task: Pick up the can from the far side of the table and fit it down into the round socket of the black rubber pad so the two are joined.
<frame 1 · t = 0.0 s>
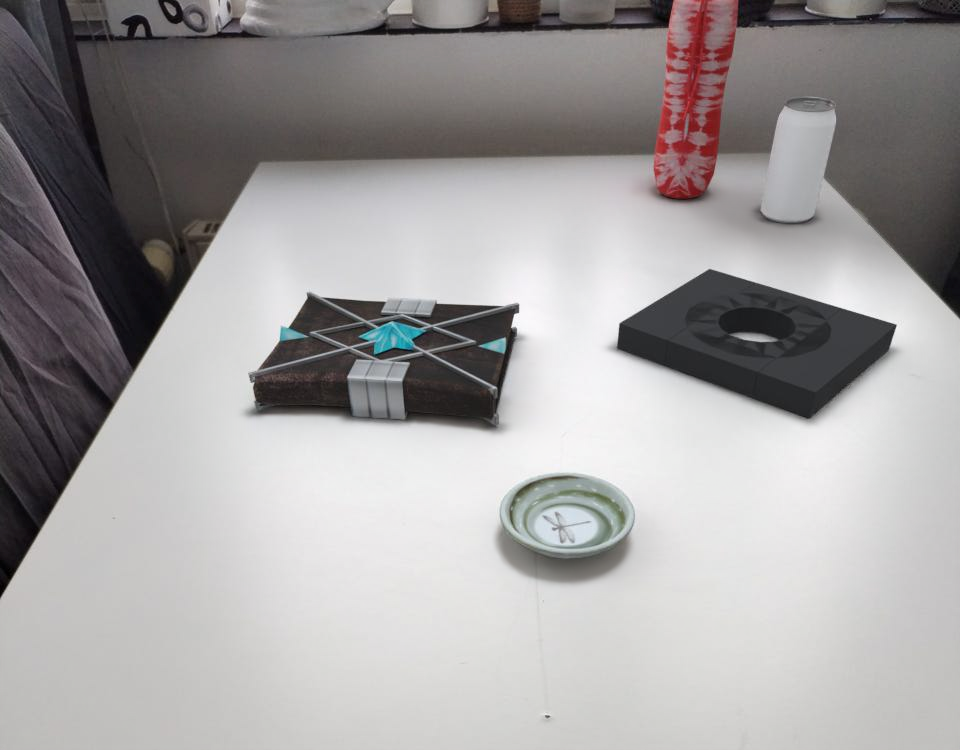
can: (786, 216, 109), on the table
book: (396, 374, 83), on the table
pad: (751, 348, 85), on the table
red tall rounded piece: (681, 189, 116), on the table
saucer: (565, 537, 65), on the table
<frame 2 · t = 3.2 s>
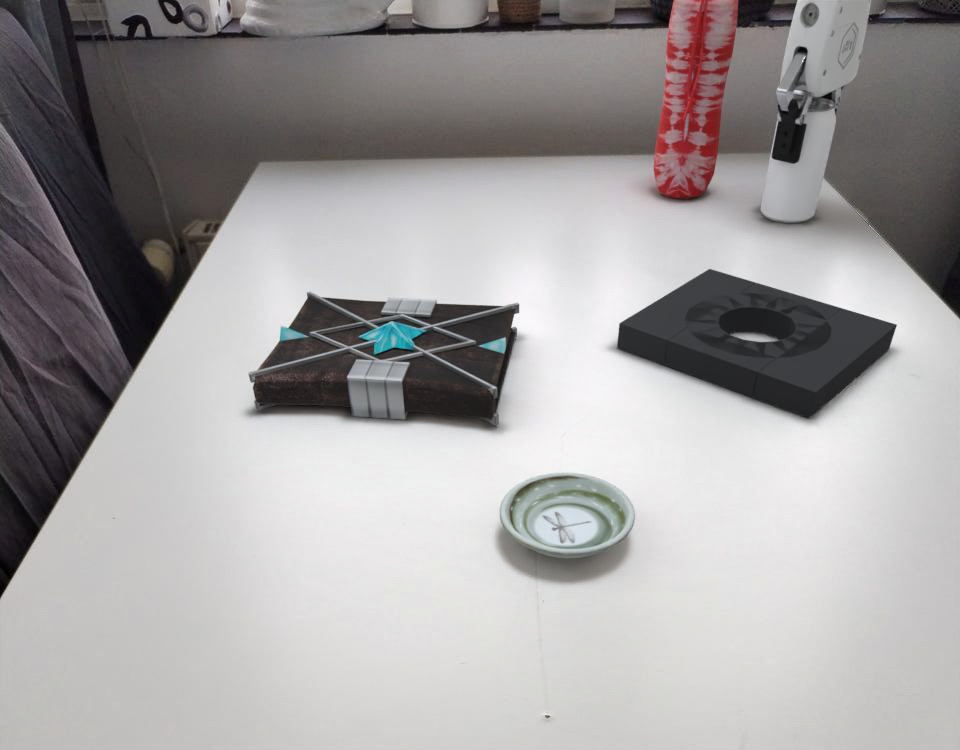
hand: (800, 151, 104), 7 cm above the table, tool pointing down, fingers closed on can, 6 cm apart
can: (786, 216, 109), on the table, touching gripper
everything else where it was.
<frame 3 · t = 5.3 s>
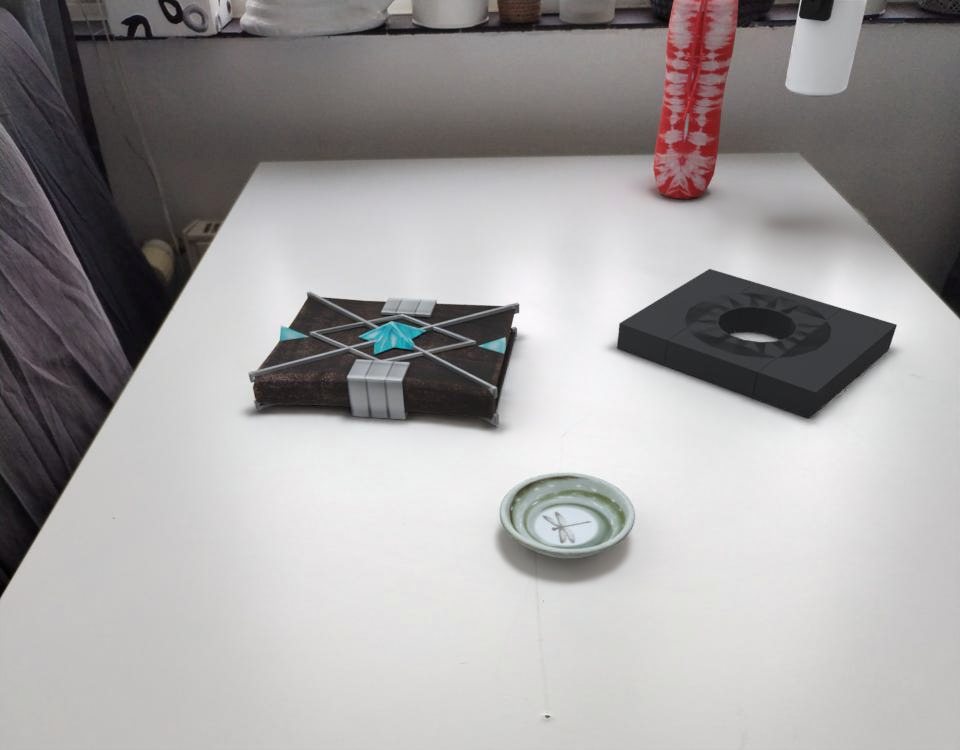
hand: (831, 11, 91), 21 cm above the table, tool pointing down, fingers closed on can, 6 cm apart
can: (814, 92, 96), point 14 cm above the table, touching gripper
everything else where it was.
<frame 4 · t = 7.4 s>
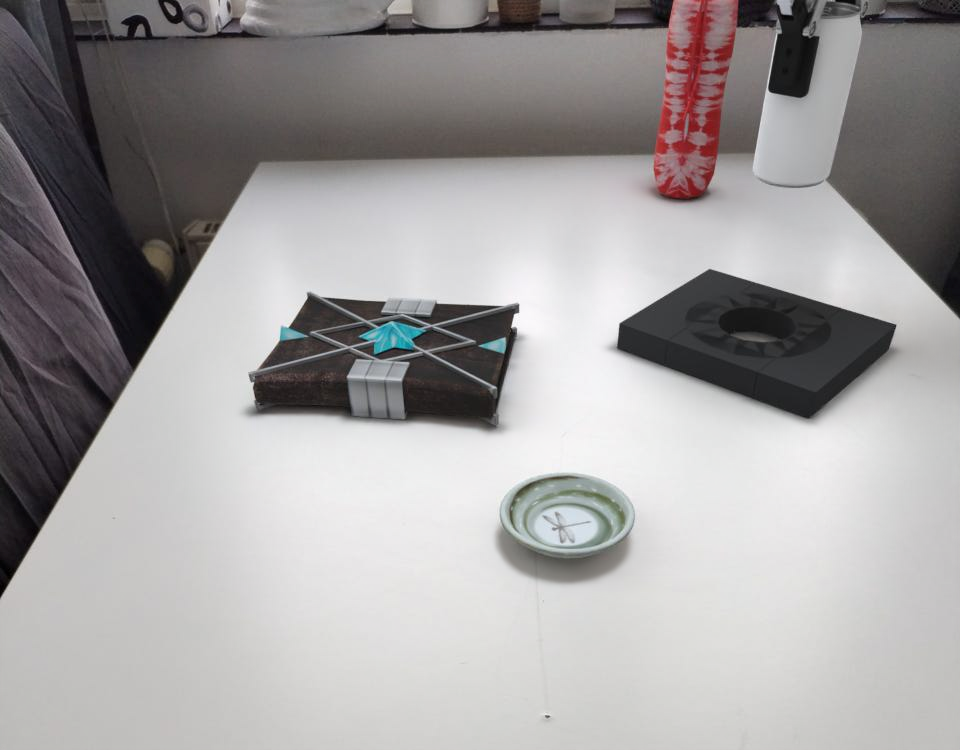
hand: (809, 82, 72), 21 cm above the table, tool pointing down, fingers closed on can, 6 cm apart
can: (789, 178, 77), point 14 cm above the table, touching gripper
everything else where it was.
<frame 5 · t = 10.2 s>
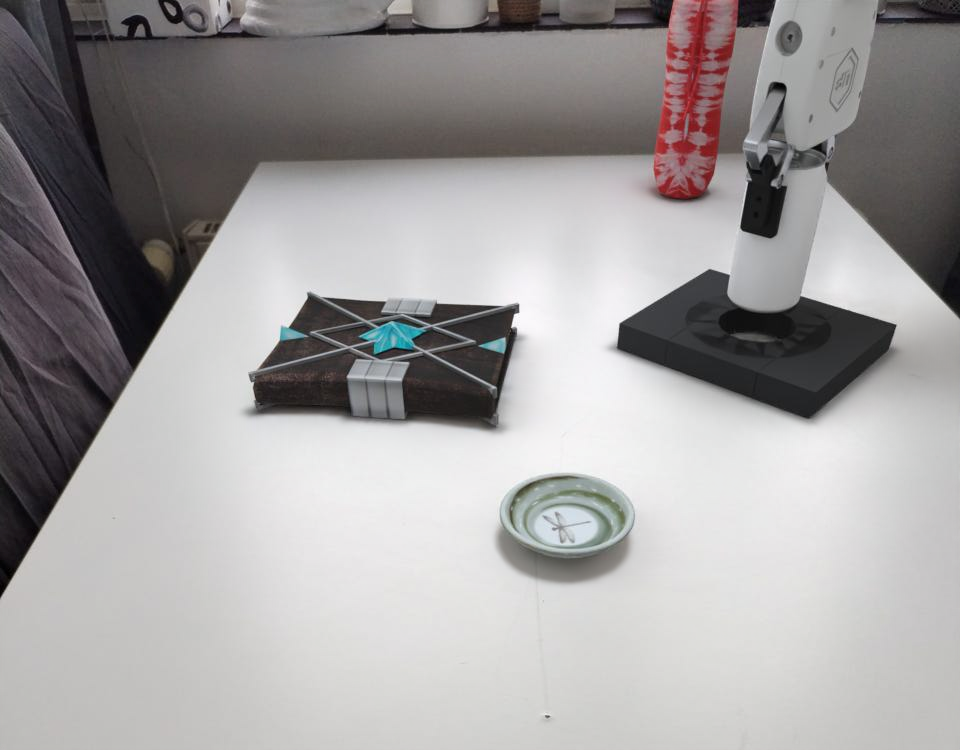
hand: (779, 219, 76), 12 cm above the table, tool pointing down, fingers closed on can, 6 cm apart
can: (761, 301, 82), point 5 cm above the table, touching gripper
everything else where it was.
when the fingers open (7 cm above the table, at t = 12.0 s): can stays where it is, resting in pad.
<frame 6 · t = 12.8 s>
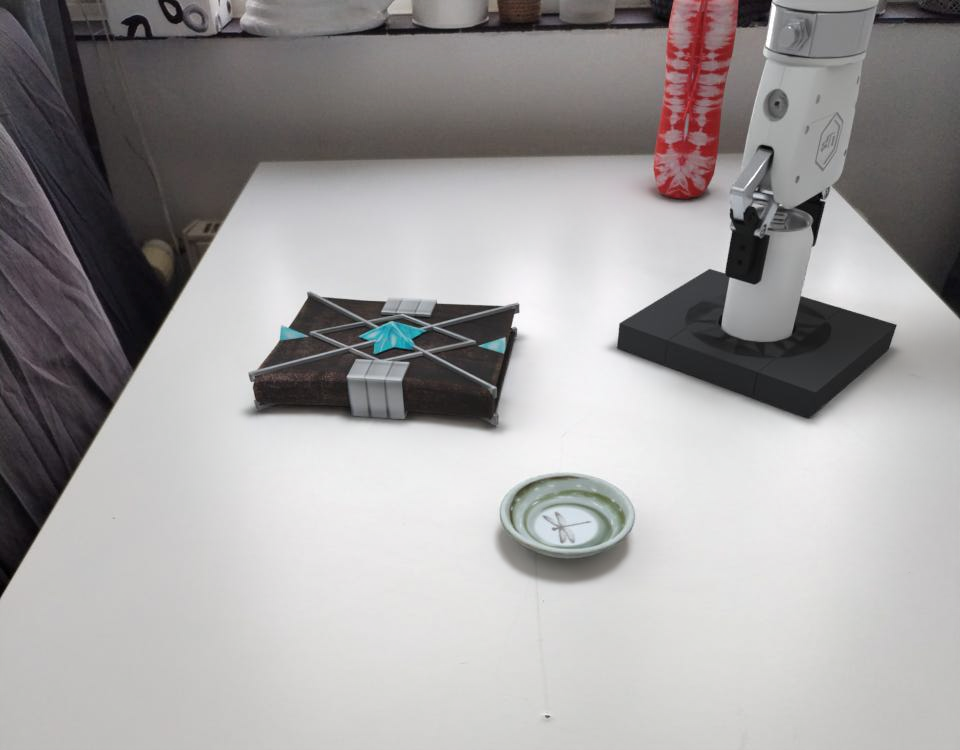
hand: (770, 261, 79), 8 cm above the table, tool pointing down, fingers open, 9 cm apart
can: (751, 350, 85), resting in pad
everything else where it was.
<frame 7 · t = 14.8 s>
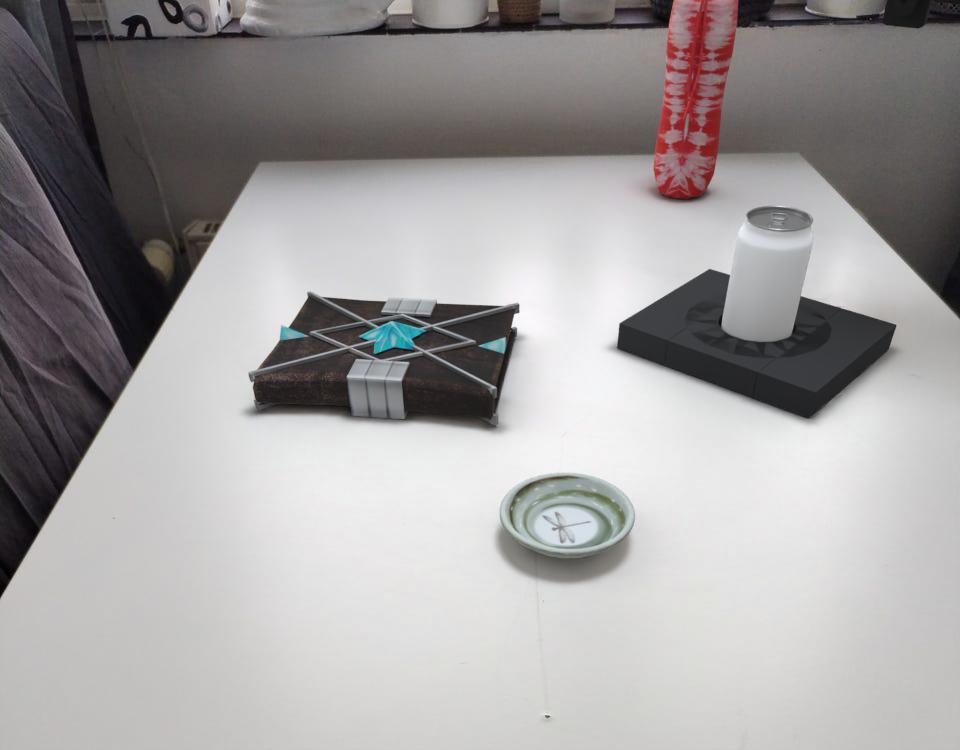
hand: (928, 13, 71), 25 cm above the table, tool pointing down, fingers open, 9 cm apart
nothing on the table moved.
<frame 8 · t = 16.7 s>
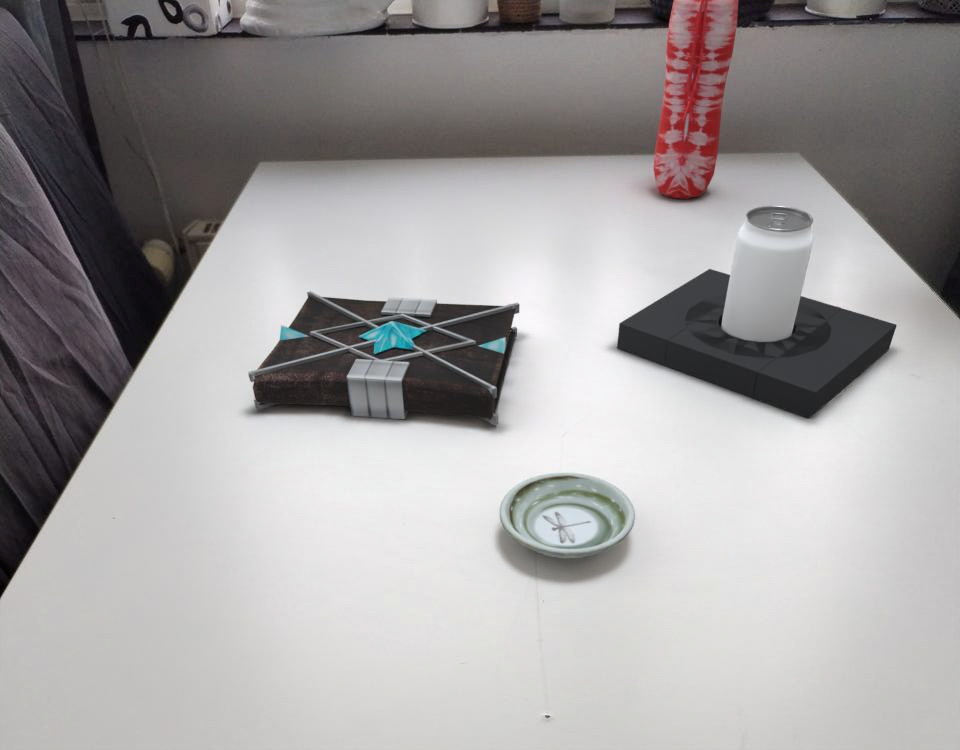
nothing on the table moved.
at the end: can 0.1 cm off-centre in the pad, point 0.0 cm above the pad's base; can tilted 0°; the gripper is holding nothing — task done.
